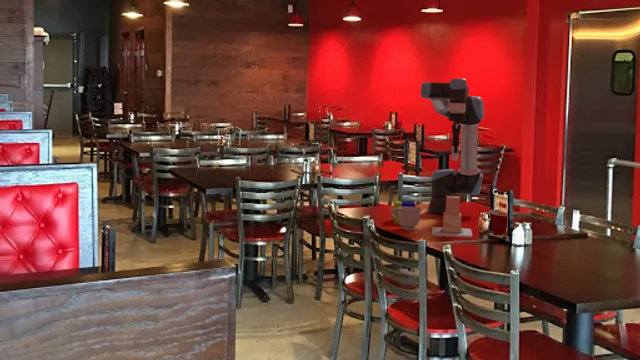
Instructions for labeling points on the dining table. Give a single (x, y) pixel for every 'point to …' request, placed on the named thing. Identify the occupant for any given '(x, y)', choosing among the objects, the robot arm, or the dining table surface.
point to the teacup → (407, 216)
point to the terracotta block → (452, 205)
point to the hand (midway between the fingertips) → (454, 158)
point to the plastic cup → (498, 222)
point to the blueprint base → (439, 232)
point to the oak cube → (452, 223)
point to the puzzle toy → (401, 204)
